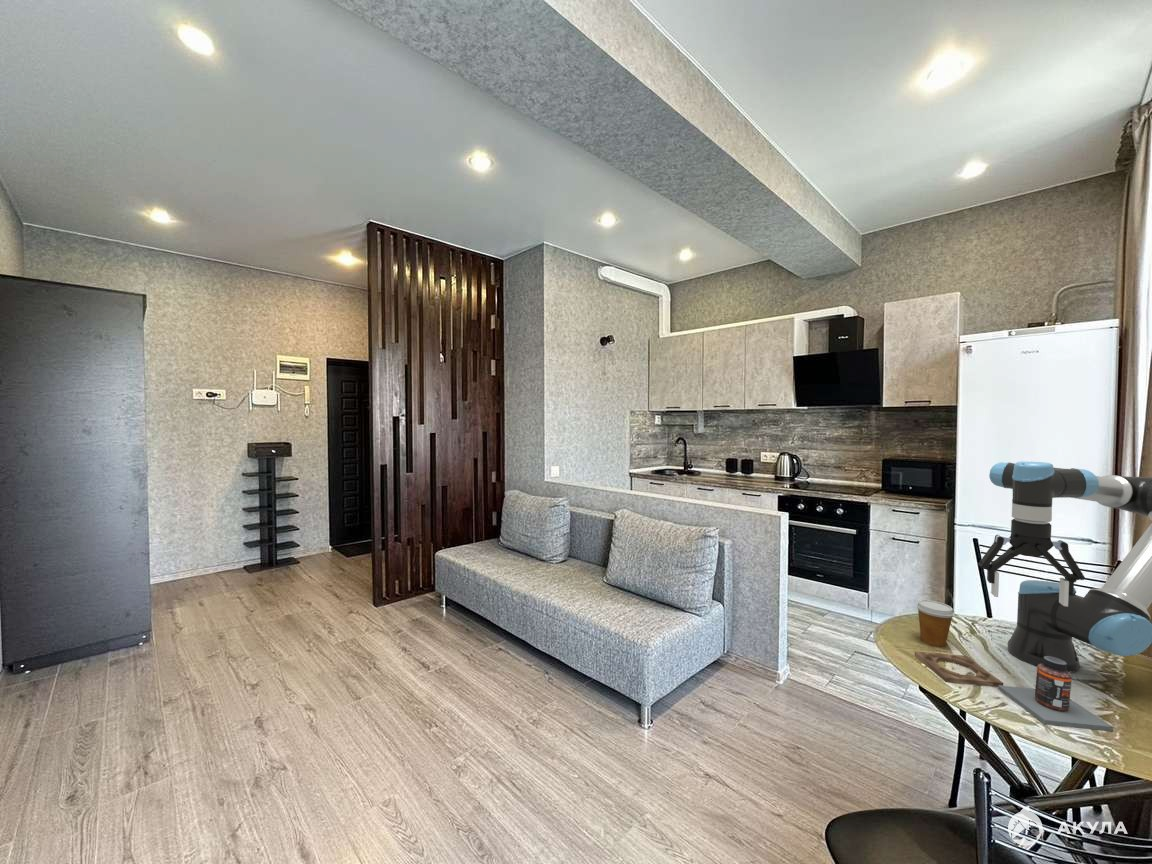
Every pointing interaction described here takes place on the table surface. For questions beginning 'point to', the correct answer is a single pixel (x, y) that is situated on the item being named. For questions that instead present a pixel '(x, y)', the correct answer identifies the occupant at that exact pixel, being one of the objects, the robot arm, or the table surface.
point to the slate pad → (1046, 715)
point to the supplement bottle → (1053, 684)
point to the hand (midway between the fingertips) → (1028, 599)
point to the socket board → (950, 676)
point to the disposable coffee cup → (934, 622)
